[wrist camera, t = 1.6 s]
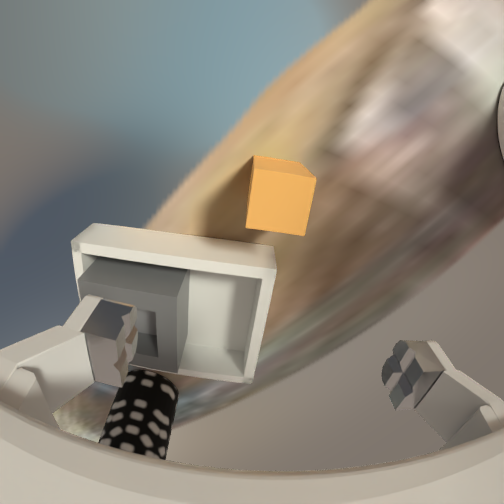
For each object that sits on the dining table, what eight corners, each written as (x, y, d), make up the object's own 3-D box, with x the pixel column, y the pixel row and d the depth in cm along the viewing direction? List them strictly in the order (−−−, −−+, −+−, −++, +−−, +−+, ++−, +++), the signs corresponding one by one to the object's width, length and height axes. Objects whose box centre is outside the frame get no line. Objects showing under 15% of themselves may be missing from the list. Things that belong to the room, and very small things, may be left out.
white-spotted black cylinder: (181, 379, 36) (153, 519, 18) (176, 411, 40) (154, 529, 22) (121, 362, 35) (71, 492, 17) (123, 397, 39) (87, 509, 21)
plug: (300, 162, 25) (316, 178, 19) (292, 206, 27) (304, 235, 20) (253, 155, 25) (254, 168, 18) (247, 199, 26) (245, 227, 20)
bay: (273, 245, 28) (278, 282, 22) (252, 354, 34) (251, 398, 28) (93, 223, 27) (59, 250, 21) (106, 330, 33) (86, 367, 27)
